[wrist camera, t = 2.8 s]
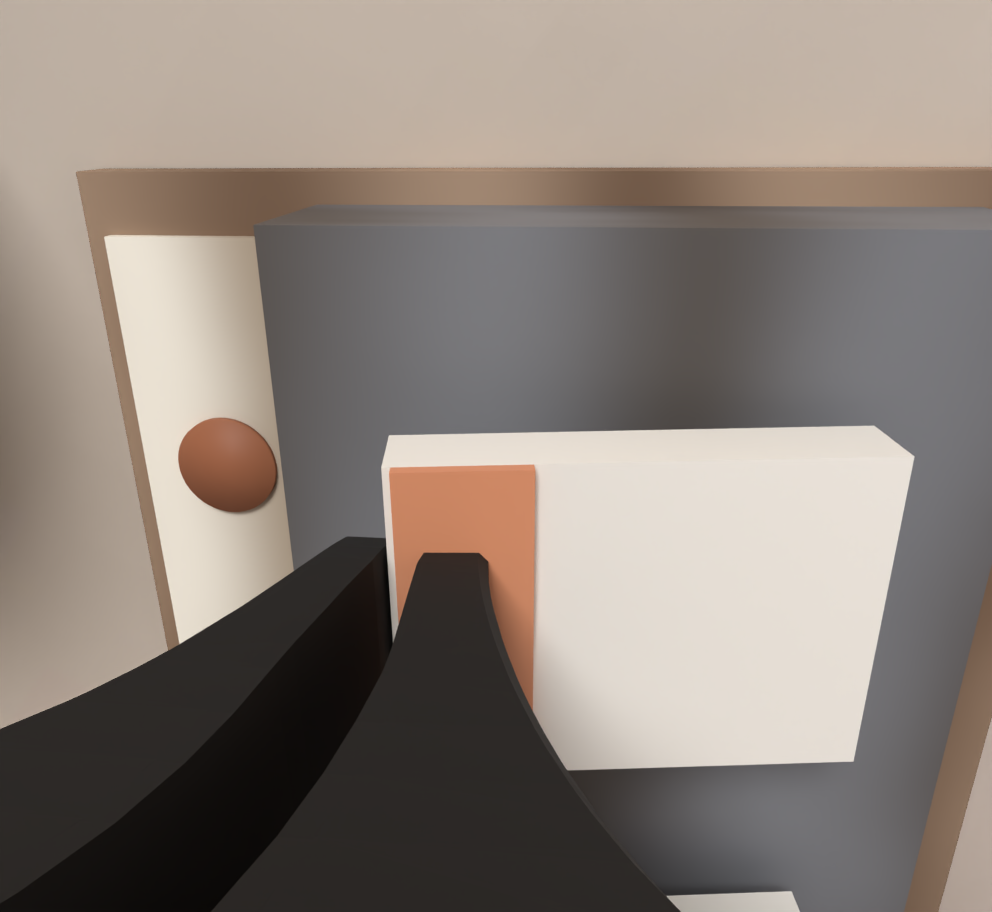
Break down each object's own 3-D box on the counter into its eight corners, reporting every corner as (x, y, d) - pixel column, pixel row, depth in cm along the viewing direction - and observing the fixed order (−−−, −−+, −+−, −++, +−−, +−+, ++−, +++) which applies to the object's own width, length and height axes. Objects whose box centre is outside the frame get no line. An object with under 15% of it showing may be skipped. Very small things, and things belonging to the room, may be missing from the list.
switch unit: (1110, 166, 12) (1280, 185, 9) (844, 1187, 22) (882, 1362, 19) (103, 169, 14) (-38, 183, 11) (273, 1110, 24) (223, 1258, 21)
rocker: (857, 412, 11) (921, 461, 9) (810, 688, 12) (858, 770, 11) (391, 421, 11) (379, 473, 9) (408, 701, 12) (401, 784, 11)
